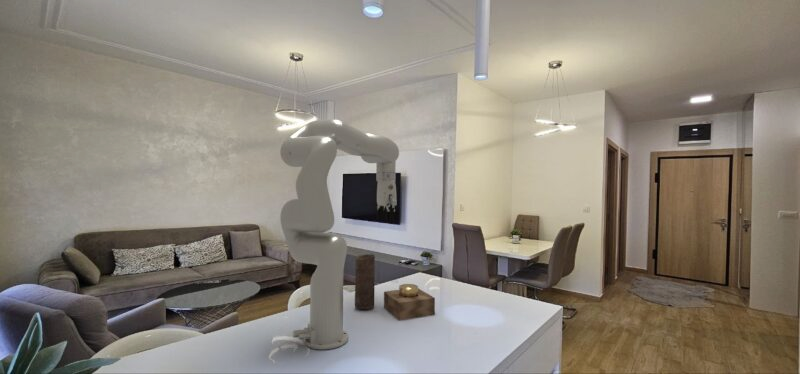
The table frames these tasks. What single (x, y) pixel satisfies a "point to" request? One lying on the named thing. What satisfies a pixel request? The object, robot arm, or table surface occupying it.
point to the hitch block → (409, 305)
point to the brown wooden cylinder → (364, 281)
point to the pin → (408, 290)
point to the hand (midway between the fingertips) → (385, 221)
